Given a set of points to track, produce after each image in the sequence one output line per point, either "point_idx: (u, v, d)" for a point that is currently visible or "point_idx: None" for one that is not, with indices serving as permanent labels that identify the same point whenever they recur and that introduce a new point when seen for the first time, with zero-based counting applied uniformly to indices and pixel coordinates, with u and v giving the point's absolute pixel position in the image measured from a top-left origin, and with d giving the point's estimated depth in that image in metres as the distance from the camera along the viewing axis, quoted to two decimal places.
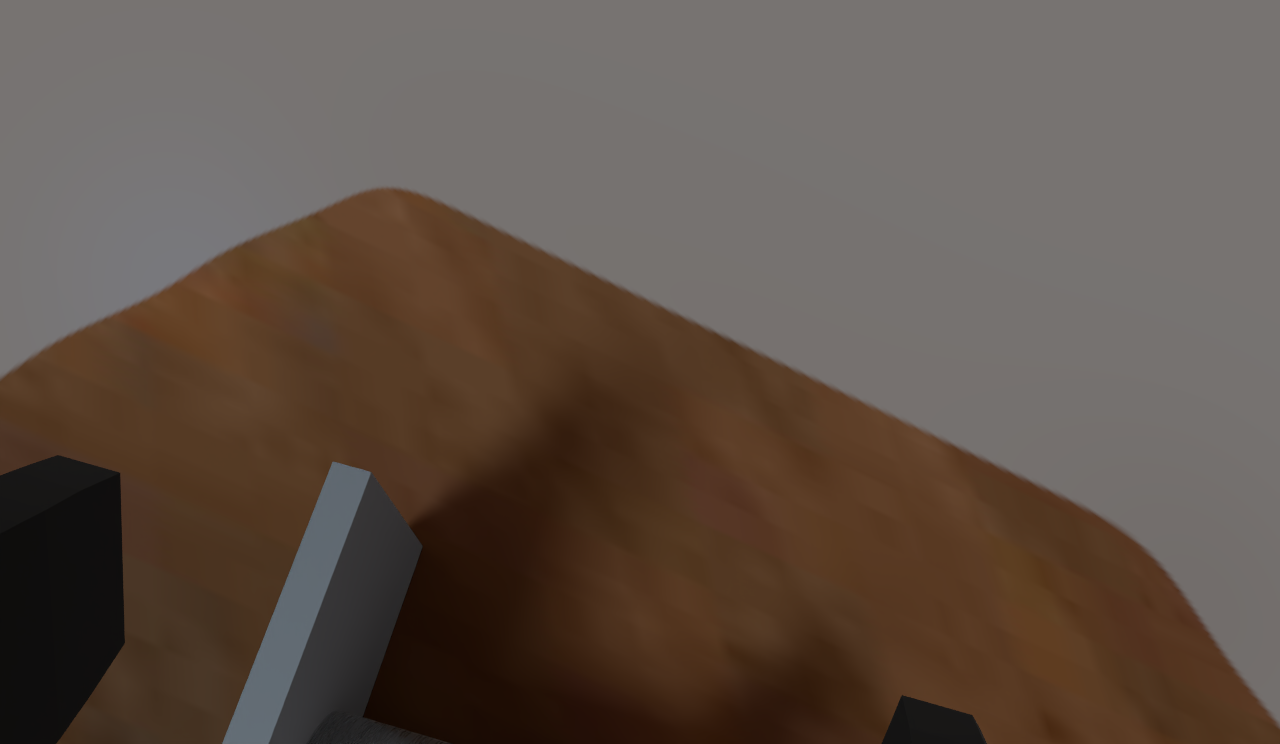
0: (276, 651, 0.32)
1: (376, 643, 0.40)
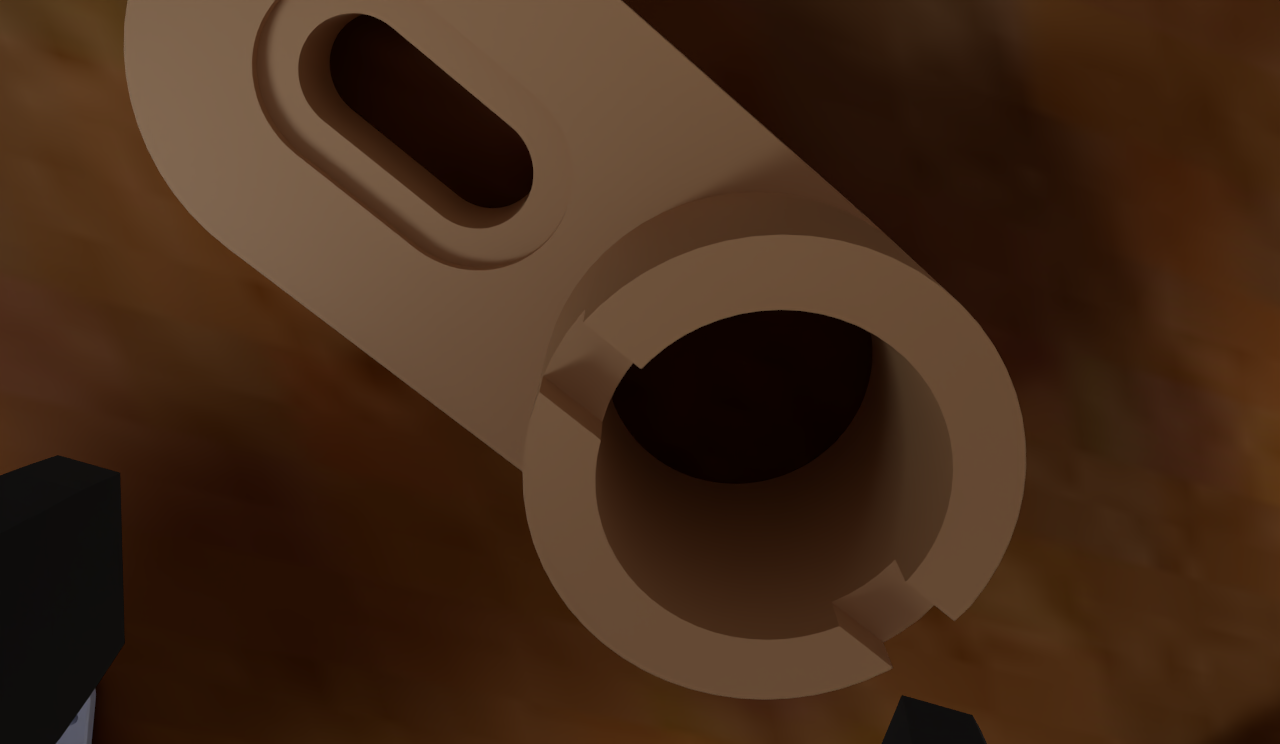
0: None
1: None
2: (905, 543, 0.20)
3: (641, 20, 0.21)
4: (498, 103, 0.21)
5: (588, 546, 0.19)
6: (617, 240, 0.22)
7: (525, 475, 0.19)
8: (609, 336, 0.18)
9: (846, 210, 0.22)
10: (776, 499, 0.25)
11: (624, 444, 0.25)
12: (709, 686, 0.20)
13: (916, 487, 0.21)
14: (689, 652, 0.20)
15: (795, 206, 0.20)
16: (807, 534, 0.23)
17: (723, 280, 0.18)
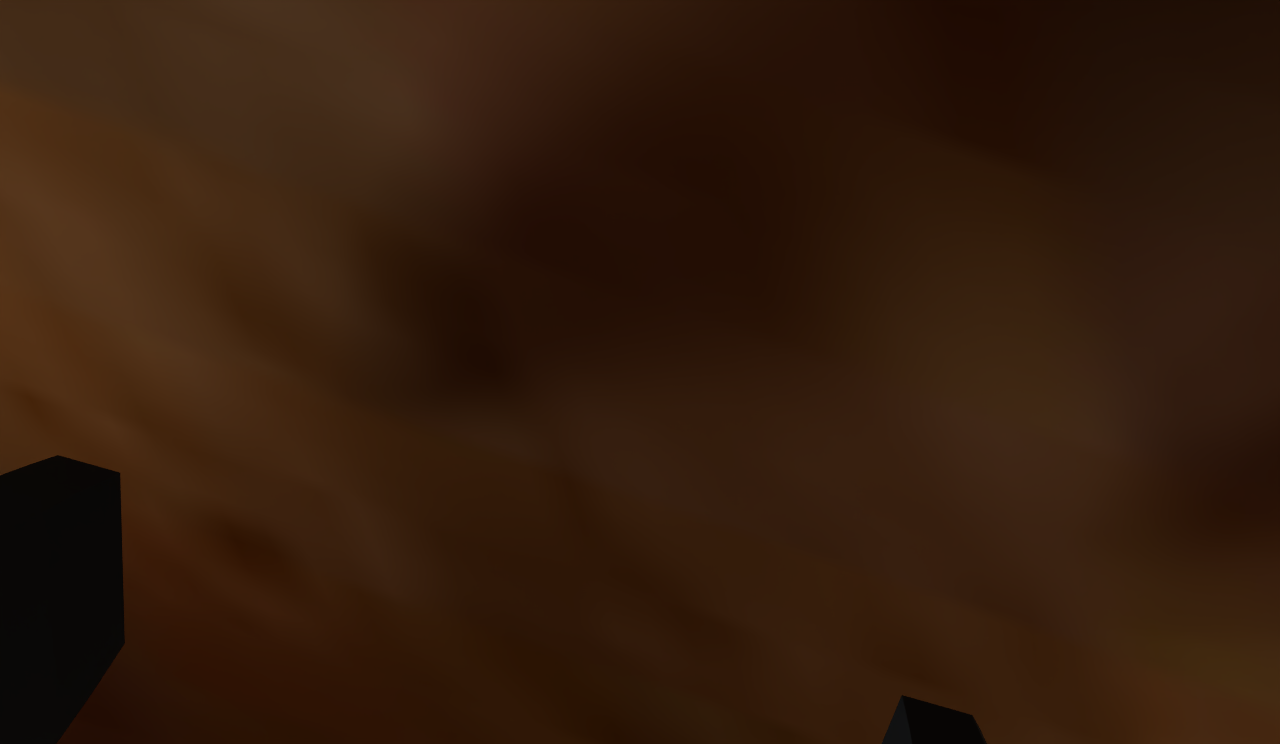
0: None
1: None
2: None
3: None
4: None
5: None
6: None
7: None
8: None
9: None
10: None
11: None
12: None
13: None
14: None
15: None
16: None
17: None
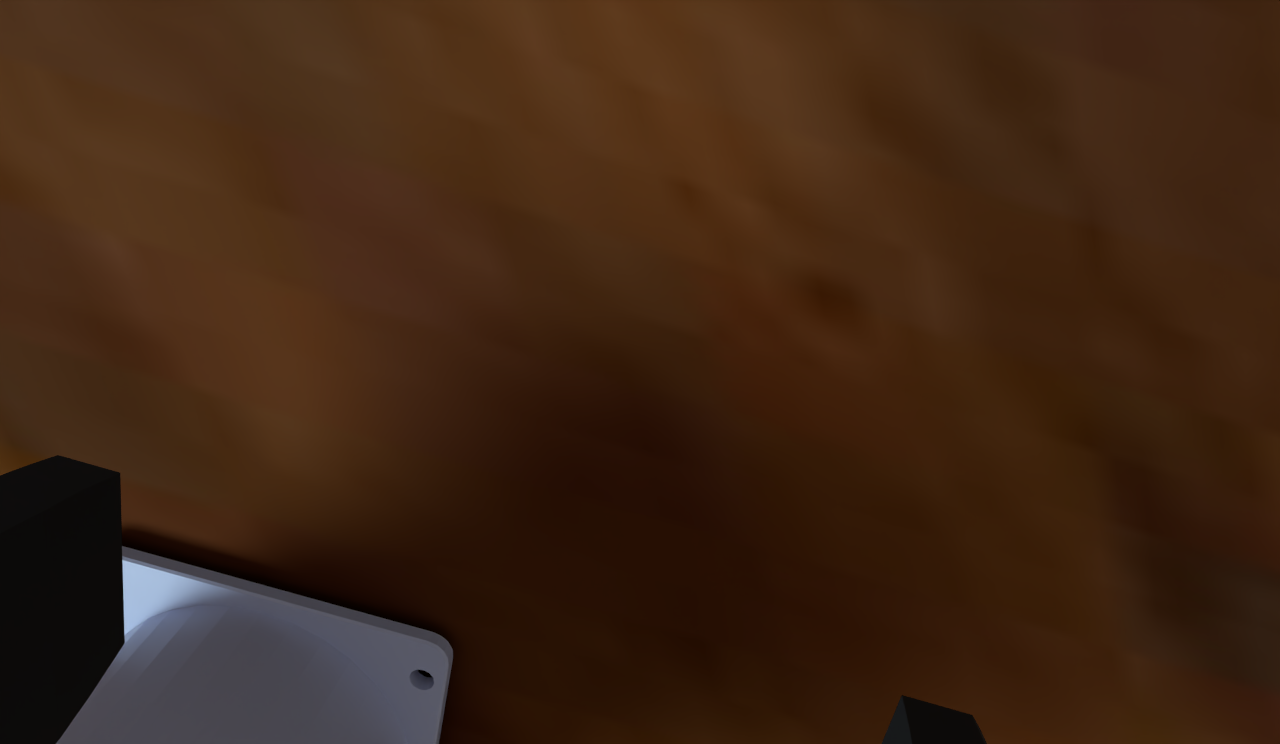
0: None
1: None
2: None
3: None
4: None
5: None
6: None
7: None
8: None
9: None
10: None
11: None
12: None
13: None
14: None
15: None
16: None
17: None
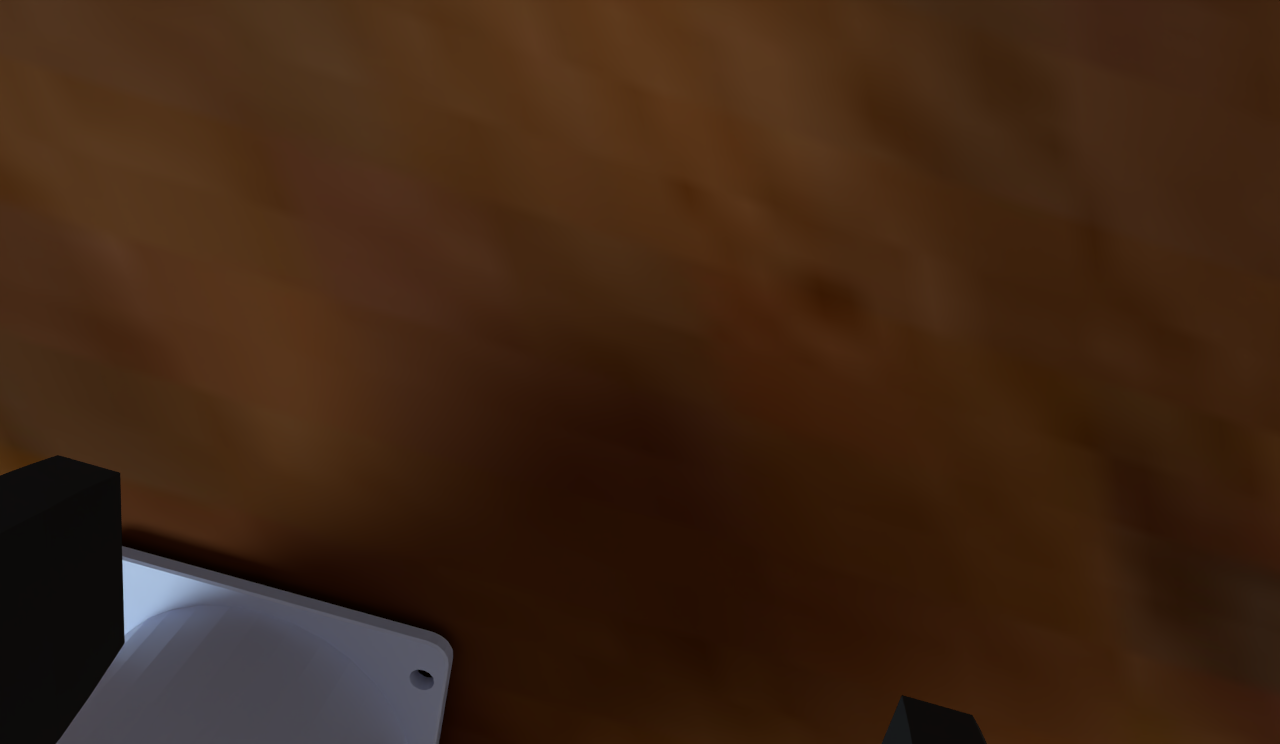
0: None
1: None
2: None
3: None
4: None
5: None
6: None
7: None
8: None
9: None
10: None
11: None
12: None
13: None
14: None
15: None
16: None
17: None
